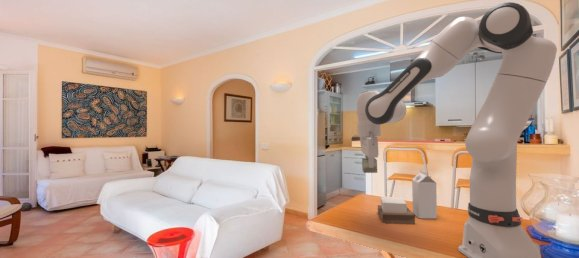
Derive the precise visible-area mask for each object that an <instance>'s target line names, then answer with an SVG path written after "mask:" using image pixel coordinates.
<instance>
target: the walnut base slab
mask: <svg viewBox="0 0 579 258" xmlns="http://www.w3.org/2000/svg"><path fill="white" fill-rule="evenodd" d="M377 214H378V217H379V218H380V220H381V222H382V224H399V225H401V224H402V225H416V215H415V214H414V213H413V211H412V210H411V209H409V207H408V206H407V214H402V213H385V212H383V211H382V207H381V204H377Z"/></svg>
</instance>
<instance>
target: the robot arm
mask: <svg viewBox="0 0 579 258" xmlns="http://www.w3.org/2000/svg"><path fill="white" fill-rule="evenodd" d="M533 33H534V28H533V24H532V20H531V16H530V13H529V11H528V10H527V9H526V8H525V6H523V5H522V4H520V3H518V2H517V3H516V2H510V1H509V2H503V3H499V4H497V5H494V6H493V7H490V9H489V10H488V11H486V13H484V15H483V16H482V18H481V19H480V20H477V19H475V18H473V17H470V16H459V17H457V18H455V19H454V20H453V21H451V22H450V23H449V24H447V26H445V27H444V28H443V29H442V30H441V31H440V32H439V33H438V34H437V35H436V36H434V38H433V39H432V41H430V43H429V44H428V45H427V46H426V47H425V48H424V49H423V50H422V51H421V53H420V54H419V55H418V56H417V57H416V58H414V60H413V61H412V62H411V64H409V65H408V66H407V67H406V68H405V69H404V70H403V71H402V72H401V73H400V74H399V75H398V76H397V77H396V78H394V80H393V81H392V82H391V83H389V85H388V86H387V87H386V88H385V89H383V91H381V92H380V91H378V90H376V89H371V90H365V91H362V92H361V93H359V94H358V96H357V102H356V115H357V125H356V127H357V130H356V131H357V132H356V133H357V134H356V135H357V137H359V142H360V149H361V150H360V151H361V153H363V154H364V158H368V167H369V168H373V167H374V158H375V159H377V158H378V157H379V155H380V154H379V140H378V137H380V136H381V133H382V132H381V125H383V124H392V123H398V122H400V121H401V120H403V119H404V118H405V116H406V112H407V107H406V106H407V105H406V103H405V101H403V100H404V98H405V97H407V96H408V94H409V93H411V92H412V91H413V90H414V89H415V88H416V87H418V85H420V84H422V83H423V82H426V81H430V80H433V79H437V78H441V77H443V76H445V75H446V74H448V73H449V72H450V71H451V70H453V69H454V68H455V67H456V66H457V65H458V64H459V63H460V62H461V61H462V60H463V59H465V57H466V56H467V55H468V54H469V53H471V52H472V51H473V50H474V49H476V48H478V49H480V50H482V51H487V52H490V53H495V54H502V61H501V65H500V67H499V69H498V71H497V73H496V76H495V79H494V81H493V83H492V85H491V87H490V90H489V91H488V95H487V97H486V99H485V101H484V103H483V104H482V106H481V108H480V110H479V111H478V114H477V116H476V118H475V119H474V122H472V123H473V124H472V125H471V127H470V129H469V131H468V133H467V135H466V138H465V142H464V143H465V148H466V151H467V153H468V154H469V155H470V157H472V158H471V164H470V165H471V168H470V175H469V202H467V203H468V204H467V205H468V206H467V214H468V219H467V220H466V222H464V224H463V233H462V244H460V245H458V249H457V250H458V252H460V253H462V254H463V255H464V256H465V257H467V258H542V255H541V246H540V245H539V244H538V243H536V242H533V240H532V239H531V238H530V236H529V235H528V233H527V232H526V231H525V229H524V228H523V227H522V222H523V220H522V219H523V218H524V217H521V215H520V212H519V210H518V208H517V167H518V166H517V165H518V164H517V160H518V159H517V157H518V155H517V154H518V152H517V151H518V141H519V139H520V137H521V135H522V133H523V131H524V129H525V127H526V125H527V123H528V121H529V119H530V118H531V115H532V114H533V111H534V109H535V107H536V106H537V104H538V101H539V99H540V97H541V95H542V93H543V91H544V89H545V86H546V84H547V82H548V80H549V77H550V76H551V73H552V71H553V67H554V65H555V60H556V56H557V52H558V49H557V48H558V47H557V44H555V43H554V42H553V41H552V40H550V39H547V38H545V37H538V36H534V35H533Z"/></svg>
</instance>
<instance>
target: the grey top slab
mask: <svg viewBox="0 0 579 258" xmlns="http://www.w3.org/2000/svg"><path fill="white" fill-rule="evenodd" d="M380 205H381V207H382V211H383V212H385V213H402V214H407V207H408V206H407V205H408V204H407V202H406V201H405V199H404V198H403V197H400V196H399V197H396V196H395V197H394V196H380Z"/></svg>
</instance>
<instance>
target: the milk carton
mask: <svg viewBox="0 0 579 258" xmlns="http://www.w3.org/2000/svg"><path fill="white" fill-rule="evenodd" d="M428 174H429V173H428V172H427V171H426V172H425V171H424V170H422V169H420V171H419V173H418V174H416V175H415V176H414V177H413V178H412V180H411V183H412V186H411V188H412V189H411V190H412V195H411V196H412V197H411V198H412V213H413V214H414V215H415V217H417V218H418V219H431V220H432V219H436V220H437V218H438V213H437V209H438V206H437V203H438V202H437V199H438V198H437V197H438V196H437V182H436V181H435V180H433V178H431V177H430V176H428Z"/></svg>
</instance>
